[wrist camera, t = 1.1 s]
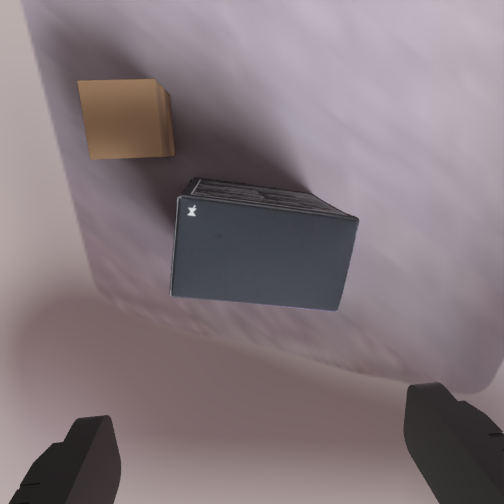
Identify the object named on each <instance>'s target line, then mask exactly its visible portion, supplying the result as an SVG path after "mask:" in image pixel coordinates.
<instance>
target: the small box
mask: <svg viewBox="0 0 504 504" xmlns="http://www.w3.org/2000/svg"><path fill="white" fill-rule="evenodd" d="M358 225H359V219H358V218H357V217H355V216H352V215H349V214H347V213H344V212H342V211H341V210H339V209H337V208H335V207H333V206H331V205H330V204H328V203H326V202H324V201H323V200H321V199H319V198H318V197H316V196H315V195H314V194H309V193H303V192H296V191H289V190H282V189H276V188H267V187H261V186H254V185H247V184H244V183H233V182H227V181H219V180H210V179H202V178H196V177H194V178H193V179H192V180H190V184H189V185H188V186H187V188H186V189H185V191H184V192H183V193H182V194H181V195H180V196H178V197H177V199H176V218H175V231H174V245H173V257H172V267H171V282H170V295H171V296H172V297H182V298H193V299H204V300H216V301H227V302H238V303H249V304H260V305H270V306H280V307H291V308H301V309H311V310H322V311H331V312H336V311H337V310H338V308H339V305H340V301H341V298H342V294H343V289H344V285H345V281H346V277H347V273H348V269H349V264H350V260H351V255H352V252H353V247H354V243H355V238H356V234H357V230H358Z"/></svg>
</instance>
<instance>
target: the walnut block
mask: <svg viewBox="0 0 504 504" xmlns="http://www.w3.org/2000/svg"><path fill="white" fill-rule="evenodd" d="M77 82H78V88H79V94H80V100H81V106H82V112H83V118H84V124H85V131H86V137H87V143H88V149H89V155H90V160H91V159H118V158H145V157H167V156H175V146H174V135H173V125H172V114H171V104H170V95H169V94H168V93H167V91H166V90H165V89H164V88H163V87H162V86H161V85H160V84H159V83H158V82H157V81H156V80H155V79H129V80H83V81H77Z"/></svg>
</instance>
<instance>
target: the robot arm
mask: <svg viewBox="0 0 504 504" xmlns="http://www.w3.org/2000/svg"><path fill="white" fill-rule="evenodd" d="M404 438H405V442H406V445H407V448H408V451H409V453H410V455H411V457H412V458H413V460H414V462H415V463H416V465H417V467H418V468H419V470H420V472H421V473H422V475H423V477H424V478H425V480H426V482H427V483H428V485H429V487H430V488H431V490H432V492H433V494H434V495H435V497H436V499H437V500H438V502H439V503H440V504H504V434H503V431H502V430H501V429H500V428H499V427H498V426H497V425H496V424H495V423H494V422H493V421H492V420H491V419H490V418H489V417H488V416H487V415H486V414H484V413H483V412H481V411H480V410H478V409H477V408H475V407H474V406H472V405H470V404H469V403H467V402H466V401H457V400H456V399H455V398H454V396H453V395H452V394H451V393H450V392H449V391H448V390H447V389H446V388H445V387H444V386H443V385H442V384H441V383H438V382H435V383H425V384H416V385H410V386H409V387H408V390H407V399H406V409H405V419H404ZM120 476H121V459H120V455H119V450H118V446H117V442H116V437H115V433H114V428H113V424H112V420H111V418H110V416H108V415H104V416H94V417H85V418H78V419H76V420H75V422H74V423H73V425H72V427H71V428H70V430H69V432H68V434H67V436H66V438H65V439H64V441H63V442H60V443H53V444H52V445H51V446H50V447H49V448H48V449H47V450H46V451H45V452H44V453H43V454H42V455H41V456H40V457H39V458H38V459H37V460H36V461H35V462H34V463H33V464H32V466H31V467H30V469H29V471H28V472H27V474H26V476H25V478H24V479H23V481H22V482H21V484H20V488H19V490H17V491H16V492H15V494H14V496H13V497H12V499H11V501H10V502H9V504H113V503H114V500H115V497H116V493H117V490H118V487H119V482H120Z"/></svg>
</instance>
